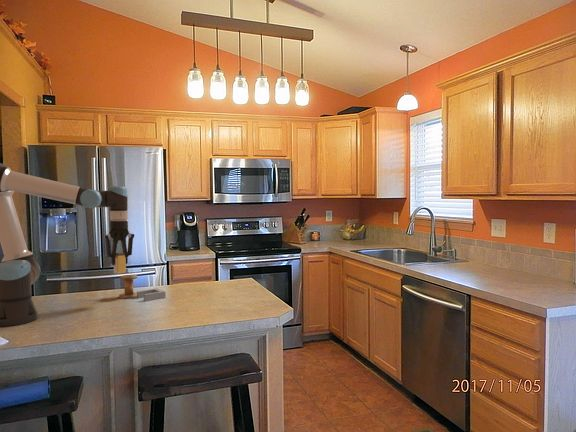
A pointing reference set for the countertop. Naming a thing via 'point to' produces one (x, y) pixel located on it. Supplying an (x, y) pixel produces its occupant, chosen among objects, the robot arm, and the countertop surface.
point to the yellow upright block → (120, 262)
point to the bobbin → (128, 287)
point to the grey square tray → (151, 294)
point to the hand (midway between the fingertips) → (119, 271)
